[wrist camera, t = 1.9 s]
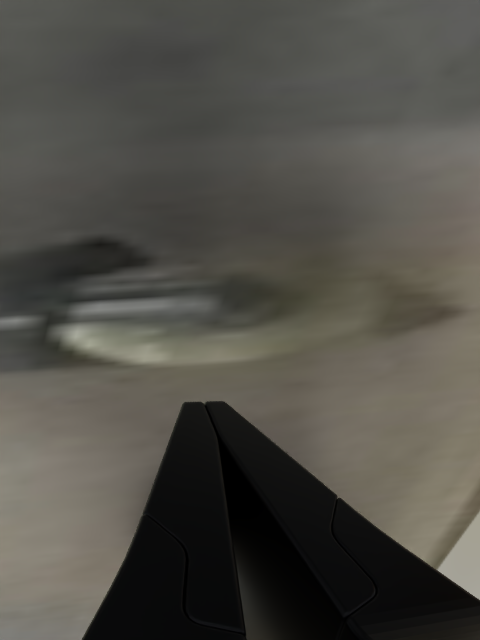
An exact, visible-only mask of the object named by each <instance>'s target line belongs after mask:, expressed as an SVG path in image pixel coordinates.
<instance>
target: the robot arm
mask: <svg viewBox="0 0 480 640" xmlns="http://www.w3.org/2000/svg"><path fill="white" fill-rule="evenodd" d="M82 640H480V600H479V599H477V598H476V597H474V596H473V595H471V594H470V593H469V592H467V591H466V590H464V589H463V588H461V587H460V586H458V585H457V584H456V583H454V582H453V581H451V580H450V579H448V578H447V577H446V576H444V575H443V574H441V573H440V572H439V571H437V570H436V569H434V568H433V567H431V566H430V565H429V564H427V563H426V562H424V561H423V560H421V559H420V558H419V557H417V556H416V555H414V554H413V553H411V552H410V551H409V550H407V549H406V548H404V547H403V546H402V545H400V544H399V543H397V542H396V541H395V540H393V539H392V538H391V537H389V536H388V535H386V534H385V533H384V532H382V531H381V530H380V529H378V528H377V527H376V526H375V525H373V524H372V523H371V522H369V521H368V520H367V519H366V518H364V517H363V516H362V515H361V514H359V513H358V512H357V511H356V510H354V509H353V508H352V507H351V506H350V505H348V504H347V503H346V502H345V501H344V500H342V499H341V498H338V499H337V495H336V494H335V493H334V492H333V491H331V490H330V489H329V488H328V487H327V486H325V485H324V484H323V483H322V482H321V481H319V480H318V479H317V478H316V477H315V476H313V475H312V474H311V473H310V472H308V471H307V470H306V469H305V468H304V467H302V466H301V465H300V464H299V463H298V462H296V461H295V460H294V459H293V458H292V457H290V456H289V455H288V454H287V453H286V452H284V451H283V450H282V449H281V448H280V447H278V446H277V445H276V444H275V443H274V442H272V441H271V440H270V439H269V438H268V437H266V436H265V435H264V434H263V433H262V432H260V431H259V430H258V429H257V428H256V427H254V426H253V425H252V424H251V423H250V422H248V421H247V420H246V419H245V418H244V417H242V416H241V415H240V414H239V413H238V412H236V411H235V410H234V409H233V408H232V407H230V406H229V405H228V404H227V403H225V402H223V401H210V402H205V403H202V402H184V403H183V404H182V407H181V410H180V412H179V415H178V418H177V421H176V423H175V426H174V429H173V432H172V434H171V437H170V440H169V443H168V445H167V448H166V451H165V454H164V456H163V459H162V462H161V465H160V467H159V470H158V473H157V476H156V478H155V481H154V484H153V487H152V489H151V492H150V495H149V498H148V500H147V503H146V506H145V509H144V511H143V516H141V519H140V522H139V524H138V527H137V530H136V532H135V535H134V537H133V540H132V542H131V545H130V547H129V549H128V552H127V554H126V557H125V559H124V561H123V563H122V565H121V567H120V569H119V571H118V573H117V575H116V577H115V579H114V581H113V583H112V585H111V587H110V589H109V591H108V592H107V594H106V596H105V598H104V600H103V602H102V603H101V605H100V607H99V609H98V611H97V613H96V614H95V616H94V618H93V620H92V622H91V624H90V625H89V627H88V629H87V631H86V633H85V635H84V636H83V638H82Z"/></svg>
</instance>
